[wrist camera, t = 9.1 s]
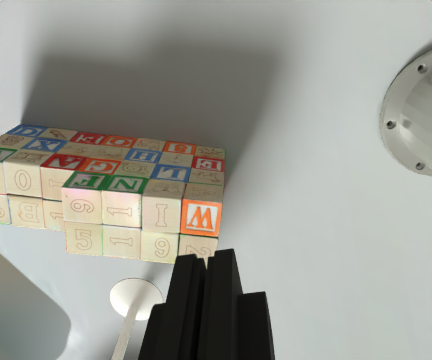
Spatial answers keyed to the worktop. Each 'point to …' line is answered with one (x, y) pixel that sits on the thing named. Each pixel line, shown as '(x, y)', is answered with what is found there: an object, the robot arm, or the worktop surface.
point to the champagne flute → (132, 307)
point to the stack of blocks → (113, 192)
